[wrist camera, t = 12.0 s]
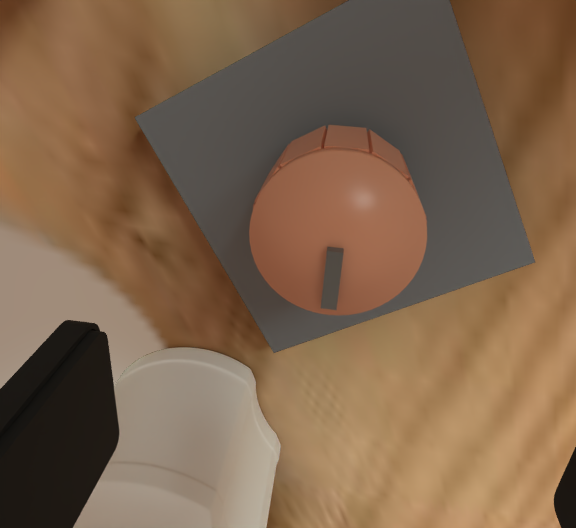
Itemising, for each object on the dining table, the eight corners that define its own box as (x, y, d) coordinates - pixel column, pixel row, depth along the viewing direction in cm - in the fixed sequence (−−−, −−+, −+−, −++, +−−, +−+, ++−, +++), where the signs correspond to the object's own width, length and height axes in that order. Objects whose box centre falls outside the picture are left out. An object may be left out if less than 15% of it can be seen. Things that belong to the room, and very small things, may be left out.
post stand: (427, -42, 21) (460, -67, 14) (522, 245, 26) (577, 318, 19) (150, 110, 25) (82, 141, 18) (278, 332, 30) (259, 417, 23)
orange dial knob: (270, 119, 21) (249, 146, 17) (425, 132, 21) (445, 164, 16) (264, 257, 24) (245, 310, 20) (400, 271, 23) (411, 329, 19)
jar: (292, 471, 34) (255, 759, 21) (166, 486, 37) (60, 758, 23) (238, 333, 30) (148, 589, 17) (97, 360, 32) (-83, 606, 19)
